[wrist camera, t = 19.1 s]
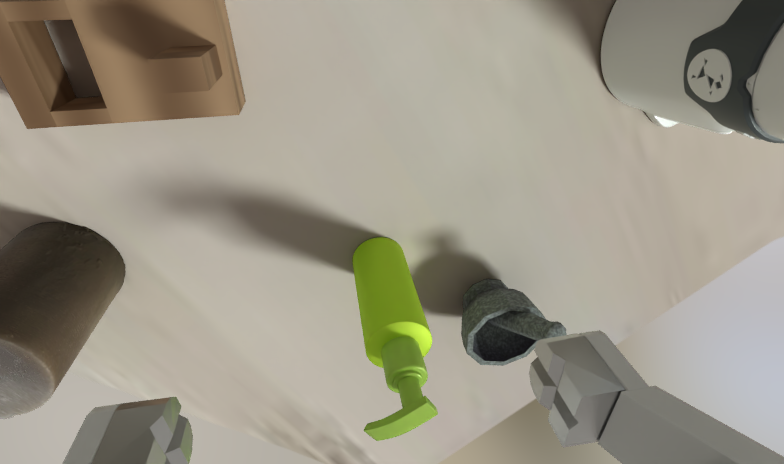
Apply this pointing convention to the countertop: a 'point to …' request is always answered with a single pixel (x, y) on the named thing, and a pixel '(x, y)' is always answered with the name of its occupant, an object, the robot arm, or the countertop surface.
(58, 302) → the pillar candle
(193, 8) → the hand plane
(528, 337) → the mortar and pestle
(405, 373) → the soap dispenser
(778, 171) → the countertop surface
